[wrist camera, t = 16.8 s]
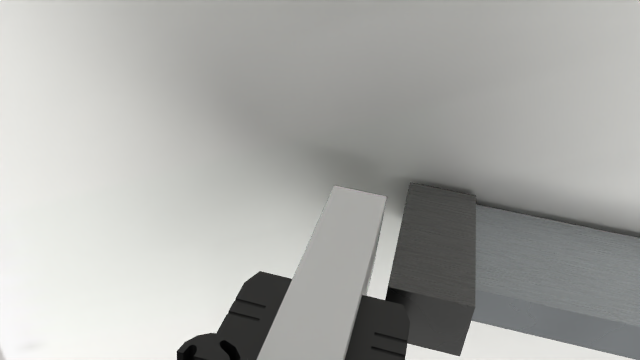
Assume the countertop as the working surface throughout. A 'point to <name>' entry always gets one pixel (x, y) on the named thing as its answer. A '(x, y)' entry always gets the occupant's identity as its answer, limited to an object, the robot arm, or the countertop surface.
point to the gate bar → (512, 276)
